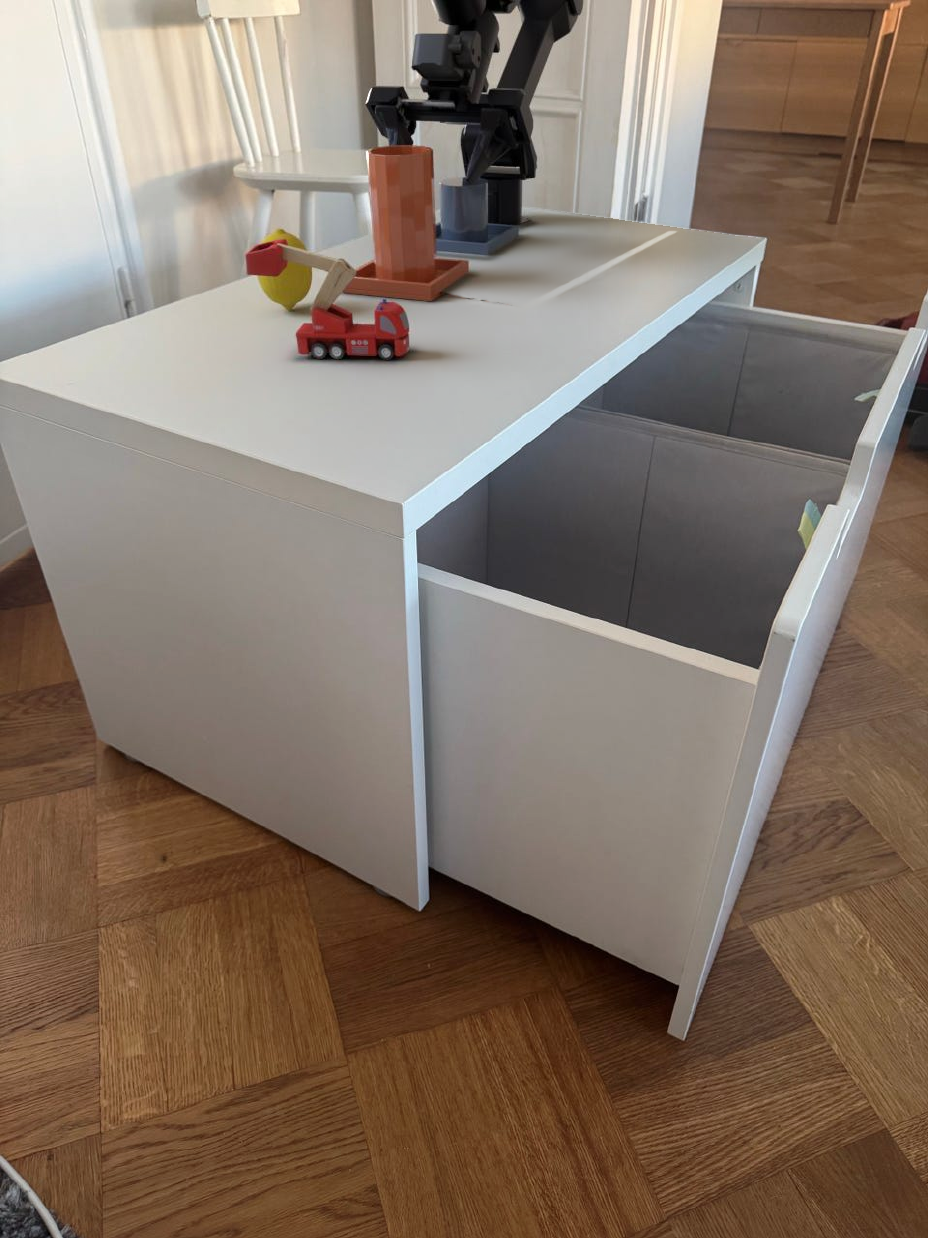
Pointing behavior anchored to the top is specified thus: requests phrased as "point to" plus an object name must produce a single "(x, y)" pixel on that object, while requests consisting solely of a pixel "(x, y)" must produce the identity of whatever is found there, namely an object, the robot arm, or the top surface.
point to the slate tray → (496, 240)
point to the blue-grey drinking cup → (464, 210)
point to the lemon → (287, 276)
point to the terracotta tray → (430, 291)
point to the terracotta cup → (403, 212)
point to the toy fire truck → (334, 307)
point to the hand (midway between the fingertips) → (430, 180)
